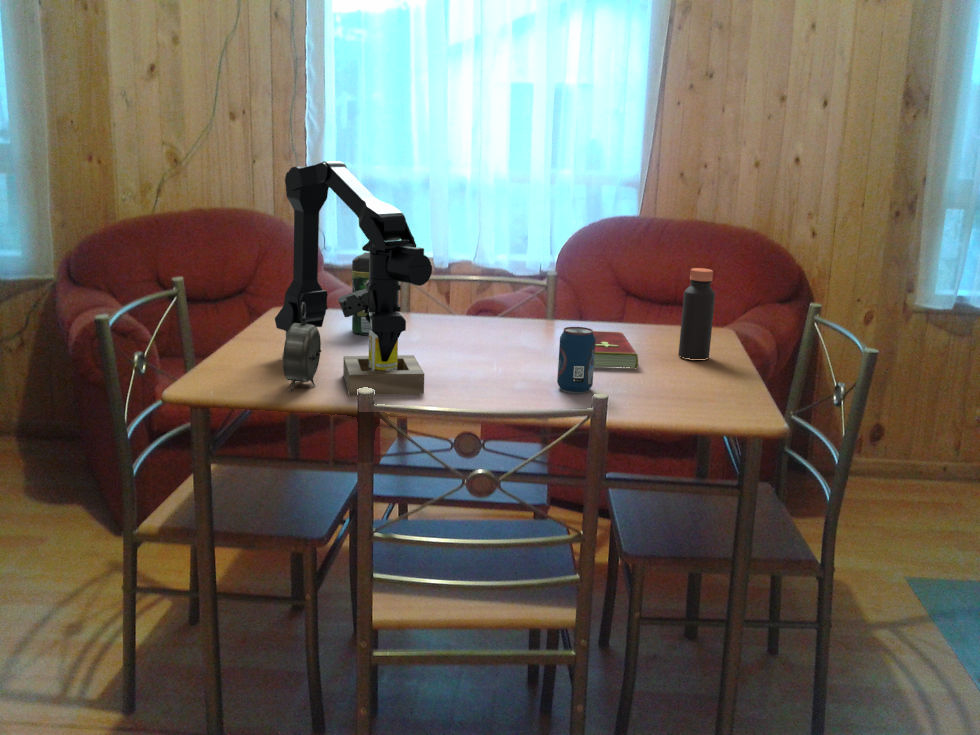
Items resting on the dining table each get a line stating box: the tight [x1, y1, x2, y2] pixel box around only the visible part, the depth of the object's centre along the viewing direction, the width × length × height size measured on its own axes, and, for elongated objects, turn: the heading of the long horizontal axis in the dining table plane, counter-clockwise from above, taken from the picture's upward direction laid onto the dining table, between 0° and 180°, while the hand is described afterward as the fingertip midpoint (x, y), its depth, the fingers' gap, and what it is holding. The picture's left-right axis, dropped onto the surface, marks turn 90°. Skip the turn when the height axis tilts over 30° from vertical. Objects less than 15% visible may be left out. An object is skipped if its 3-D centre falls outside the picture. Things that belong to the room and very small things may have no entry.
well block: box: [343, 354, 425, 397], centre depth 196 cm, size 14×14×4 cm
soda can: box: [556, 326, 596, 394], centre depth 197 cm, size 7×7×12 cm
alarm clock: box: [282, 302, 322, 392], centre depth 191 cm, size 11×5×16 cm, turn 174°
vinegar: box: [678, 267, 716, 359], centre depth 225 cm, size 7×7×20 cm
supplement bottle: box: [368, 331, 399, 371], centre depth 194 cm, size 6×6×10 cm
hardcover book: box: [593, 330, 639, 369], centre depth 225 cm, size 12×21×4 cm, turn 1°
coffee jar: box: [351, 251, 371, 336], centre depth 238 cm, size 10×8×19 cm
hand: (382, 357), depth 195 cm, fingers closed on supplement bottle, 5 cm apart
